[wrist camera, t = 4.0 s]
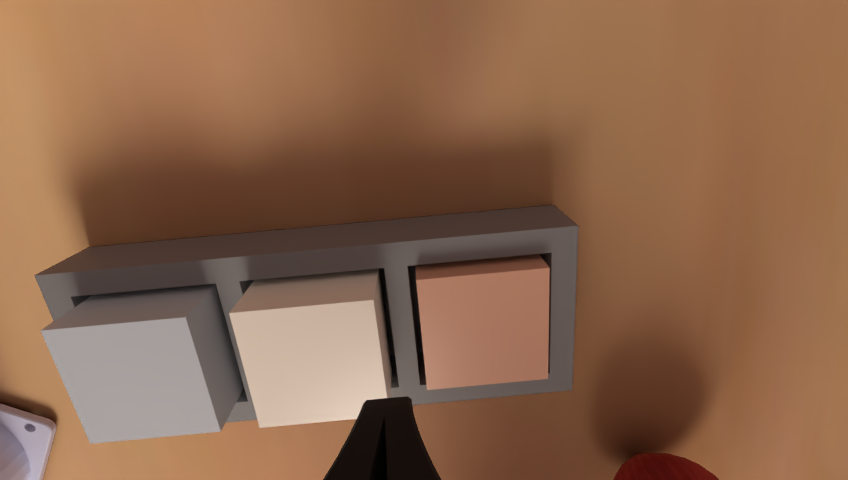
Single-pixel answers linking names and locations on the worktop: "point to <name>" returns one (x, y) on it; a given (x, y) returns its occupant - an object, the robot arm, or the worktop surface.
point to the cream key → (313, 346)
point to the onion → (662, 468)
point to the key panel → (339, 252)
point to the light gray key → (147, 363)
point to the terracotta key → (484, 320)
